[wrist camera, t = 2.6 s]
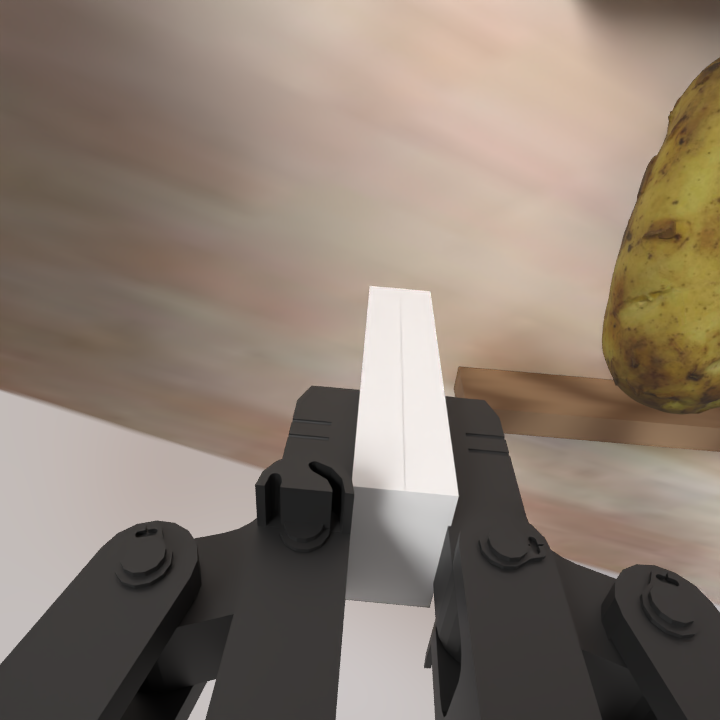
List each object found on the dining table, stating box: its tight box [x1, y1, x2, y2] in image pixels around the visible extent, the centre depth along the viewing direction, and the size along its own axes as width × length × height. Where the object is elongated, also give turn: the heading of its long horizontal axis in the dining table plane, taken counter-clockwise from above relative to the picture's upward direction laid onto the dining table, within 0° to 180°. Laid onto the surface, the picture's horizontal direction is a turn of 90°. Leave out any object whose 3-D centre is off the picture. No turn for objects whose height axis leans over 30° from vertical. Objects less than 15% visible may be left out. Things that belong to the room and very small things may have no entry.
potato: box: [602, 58, 720, 415], centre depth 20 cm, size 8×13×8 cm, turn 157°
